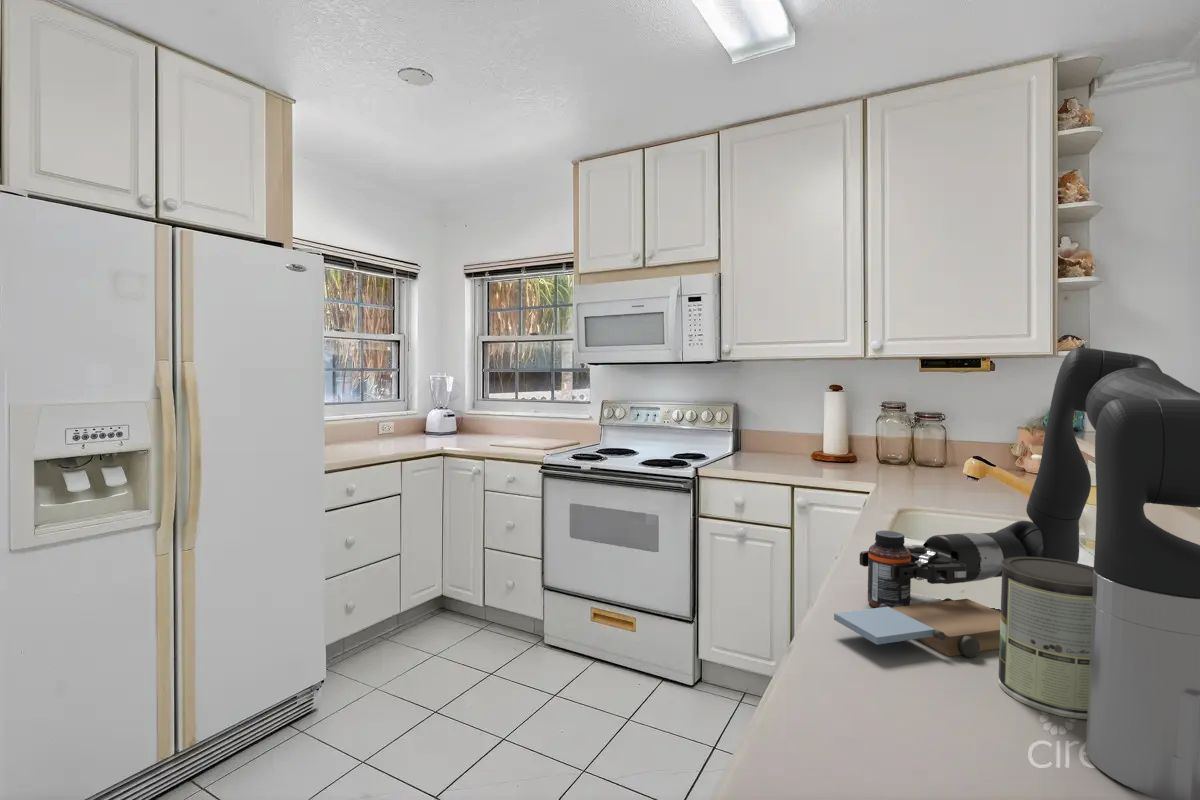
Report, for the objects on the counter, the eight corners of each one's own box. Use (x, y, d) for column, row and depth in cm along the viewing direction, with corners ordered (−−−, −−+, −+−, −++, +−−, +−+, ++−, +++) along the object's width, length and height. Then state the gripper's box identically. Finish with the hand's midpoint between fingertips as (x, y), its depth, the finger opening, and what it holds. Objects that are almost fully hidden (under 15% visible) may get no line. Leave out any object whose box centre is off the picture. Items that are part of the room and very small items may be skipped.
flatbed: (1039, 647, 80) (1040, 624, 79) (948, 661, 75) (949, 637, 75) (959, 612, 91) (960, 592, 91) (876, 623, 87) (876, 602, 87)
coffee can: (978, 669, 73) (982, 553, 73) (1070, 675, 72) (1075, 557, 72) (1030, 717, 63) (1036, 582, 62) (1138, 724, 62) (1144, 587, 61)
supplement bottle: (873, 596, 98) (875, 526, 97) (914, 605, 94) (916, 532, 93) (862, 607, 93) (863, 533, 93) (904, 616, 89) (906, 540, 89)
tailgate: (934, 629, 78) (877, 637, 75) (934, 639, 78) (876, 647, 75) (888, 606, 85) (834, 613, 83) (887, 615, 85) (833, 622, 83)
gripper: (926, 523, 104) (844, 529, 99) (1005, 546, 90) (914, 554, 85) (925, 567, 104) (843, 575, 99) (1003, 596, 91) (912, 607, 86)
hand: (876, 565), depth 92 cm, fingers closed on supplement bottle, 6 cm apart
